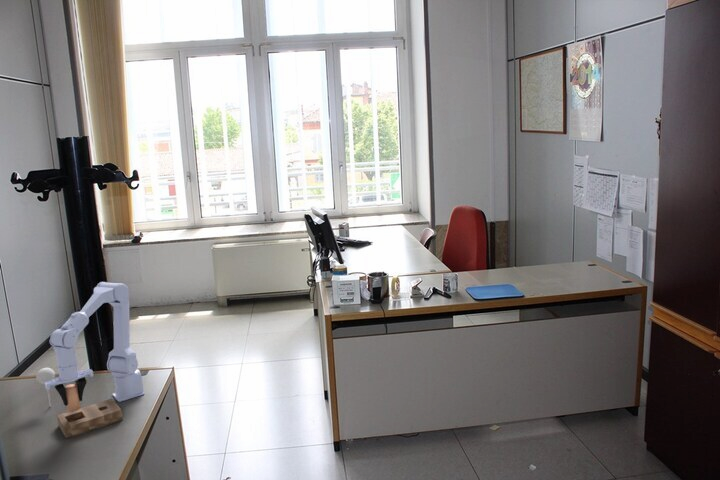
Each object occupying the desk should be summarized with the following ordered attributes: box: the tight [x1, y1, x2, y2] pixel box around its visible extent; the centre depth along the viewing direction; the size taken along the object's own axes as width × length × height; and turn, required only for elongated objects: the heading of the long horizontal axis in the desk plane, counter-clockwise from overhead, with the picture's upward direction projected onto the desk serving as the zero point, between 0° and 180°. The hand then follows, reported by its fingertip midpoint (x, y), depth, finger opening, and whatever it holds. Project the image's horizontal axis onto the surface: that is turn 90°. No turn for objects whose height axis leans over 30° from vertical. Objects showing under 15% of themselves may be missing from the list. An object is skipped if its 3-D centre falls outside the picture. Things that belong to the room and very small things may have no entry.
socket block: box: [56, 398, 124, 440], centre depth 205 cm, size 18×11×4 cm, turn 128°
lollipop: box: [35, 367, 56, 408], centre depth 216 cm, size 6×6×15 cm
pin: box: [64, 383, 81, 412], centre depth 200 cm, size 4×4×8 cm
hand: (73, 402), depth 200 cm, fingers closed on pin, 4 cm apart
